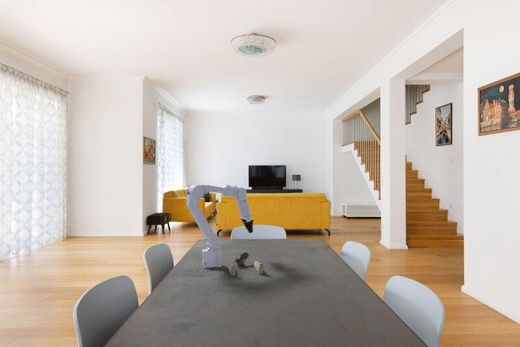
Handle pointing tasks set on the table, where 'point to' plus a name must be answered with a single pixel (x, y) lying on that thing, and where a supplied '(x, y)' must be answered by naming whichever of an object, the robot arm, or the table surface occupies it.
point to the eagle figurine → (241, 259)
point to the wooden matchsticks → (256, 264)
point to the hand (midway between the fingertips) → (249, 230)
